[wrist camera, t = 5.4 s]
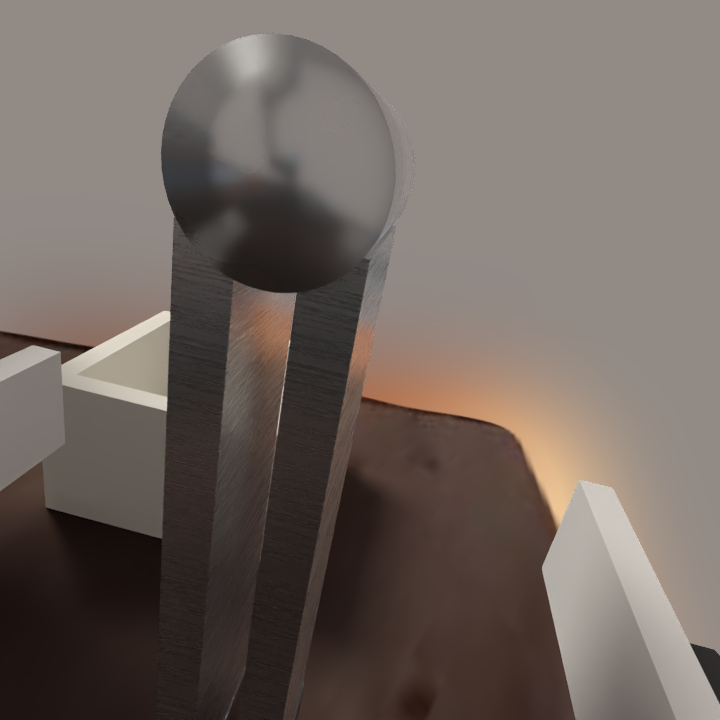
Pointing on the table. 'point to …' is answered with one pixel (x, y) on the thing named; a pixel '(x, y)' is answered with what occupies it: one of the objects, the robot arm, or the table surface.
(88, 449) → the caddy
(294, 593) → the tongs
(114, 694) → the table surface
